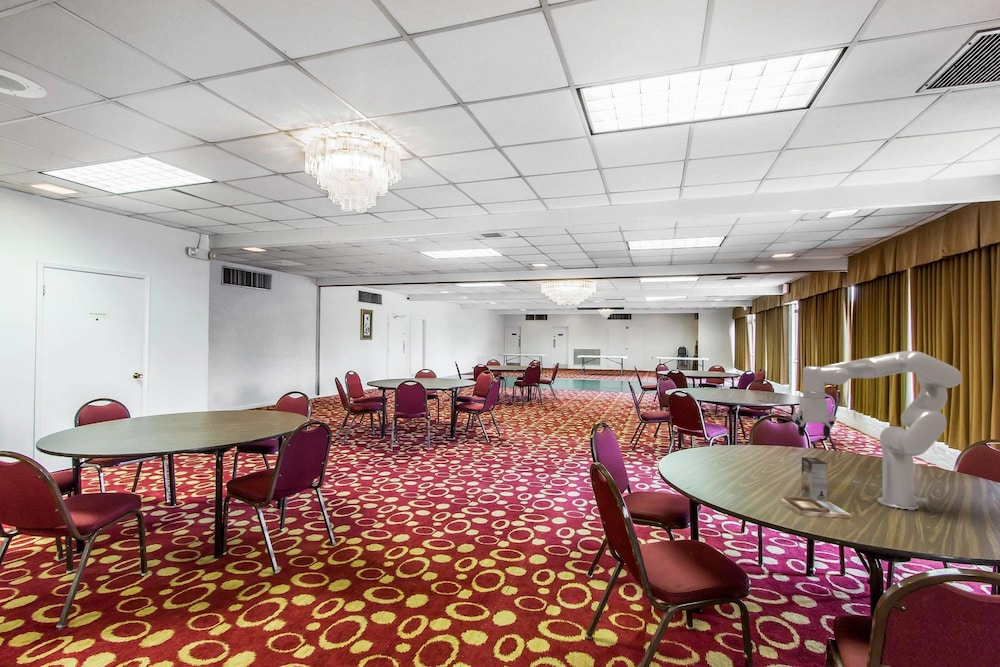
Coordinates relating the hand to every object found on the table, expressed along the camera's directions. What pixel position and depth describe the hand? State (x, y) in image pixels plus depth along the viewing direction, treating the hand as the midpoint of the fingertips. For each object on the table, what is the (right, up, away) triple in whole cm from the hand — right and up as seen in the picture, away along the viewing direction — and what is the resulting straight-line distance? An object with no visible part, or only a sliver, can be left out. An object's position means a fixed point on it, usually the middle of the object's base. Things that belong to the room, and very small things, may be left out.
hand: (813, 436), depth 192 cm
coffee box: (0, -26, 0) cm, 26 cm away
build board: (-10, -26, -15) cm, 32 cm away
